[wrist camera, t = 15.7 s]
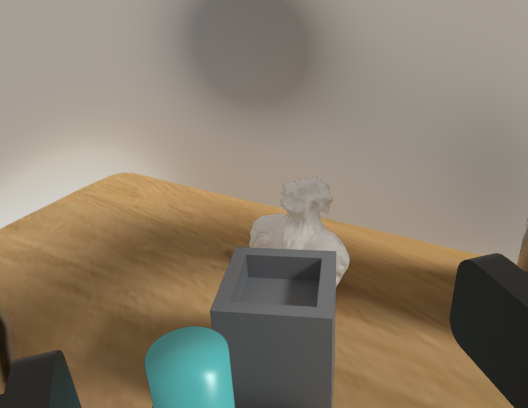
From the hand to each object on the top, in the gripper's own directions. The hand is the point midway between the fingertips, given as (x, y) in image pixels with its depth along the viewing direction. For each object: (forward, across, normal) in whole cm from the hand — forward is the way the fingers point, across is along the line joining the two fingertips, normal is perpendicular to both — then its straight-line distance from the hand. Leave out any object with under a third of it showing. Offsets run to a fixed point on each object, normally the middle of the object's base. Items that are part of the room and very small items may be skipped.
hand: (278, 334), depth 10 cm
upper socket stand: (+18, -5, +23) cm, 30 cm away
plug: (+10, +2, +22) cm, 25 cm away
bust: (+32, -11, +24) cm, 41 cm away
